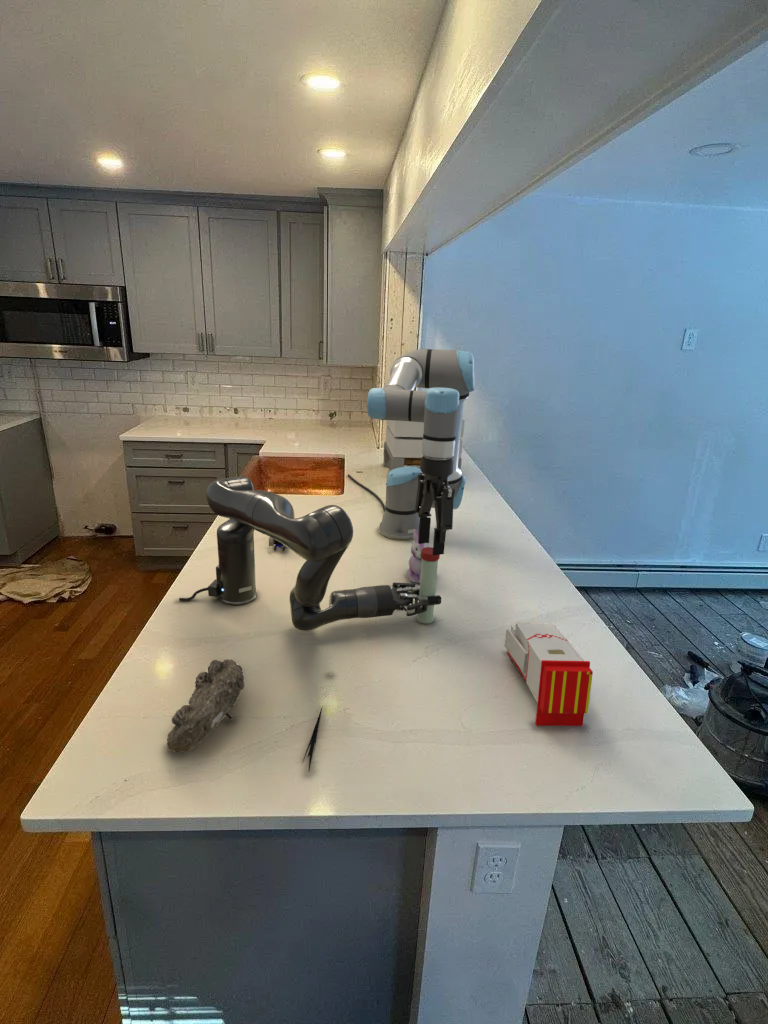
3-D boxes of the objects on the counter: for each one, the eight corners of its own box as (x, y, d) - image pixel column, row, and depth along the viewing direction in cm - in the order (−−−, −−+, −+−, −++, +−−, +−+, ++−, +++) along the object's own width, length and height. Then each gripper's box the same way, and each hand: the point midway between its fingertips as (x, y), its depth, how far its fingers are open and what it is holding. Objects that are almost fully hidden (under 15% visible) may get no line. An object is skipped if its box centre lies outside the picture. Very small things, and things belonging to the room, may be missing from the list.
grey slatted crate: (382, 463, 289) (386, 382, 275) (445, 464, 293) (451, 384, 279) (390, 482, 257) (394, 392, 243) (460, 483, 261) (468, 394, 247)
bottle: (433, 616, 147) (438, 549, 141) (433, 624, 144) (438, 556, 137) (417, 614, 148) (422, 548, 141) (417, 622, 144) (422, 555, 137)
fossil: (192, 660, 117) (244, 628, 112) (224, 691, 120) (276, 661, 115) (142, 746, 98) (202, 712, 93) (182, 779, 101) (242, 748, 96)
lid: (439, 554, 142) (439, 547, 141) (439, 562, 137) (440, 555, 137) (420, 553, 142) (421, 546, 141) (420, 560, 138) (420, 553, 137)
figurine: (415, 586, 162) (419, 538, 157) (398, 572, 170) (401, 525, 165) (443, 581, 166) (447, 533, 161) (425, 567, 175) (428, 521, 170)
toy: (550, 607, 134) (601, 667, 105) (545, 659, 137) (594, 732, 108) (499, 606, 134) (537, 666, 104) (495, 659, 137) (530, 731, 107)
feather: (331, 679, 122) (336, 673, 122) (307, 777, 96) (313, 769, 95) (324, 675, 122) (329, 669, 121) (298, 772, 95) (304, 764, 95)
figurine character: (289, 557, 180) (295, 534, 194) (288, 536, 177) (294, 515, 190) (268, 557, 180) (275, 534, 193) (266, 536, 177) (274, 514, 190)
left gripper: (380, 602, 132) (449, 595, 136) (365, 575, 145) (428, 569, 149) (379, 630, 134) (446, 622, 139) (364, 601, 147) (426, 595, 152)
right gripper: (474, 466, 124) (465, 562, 132) (431, 446, 141) (425, 532, 148) (445, 468, 121) (437, 566, 129) (404, 448, 138) (399, 535, 145)
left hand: (437, 595), depth 144 cm, fingers closed on bottle, 4 cm apart
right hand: (430, 548), depth 138 cm, fingers open, 7 cm apart
